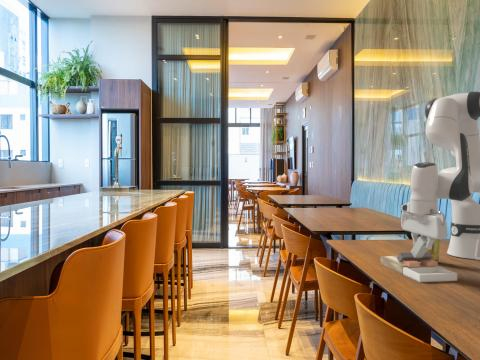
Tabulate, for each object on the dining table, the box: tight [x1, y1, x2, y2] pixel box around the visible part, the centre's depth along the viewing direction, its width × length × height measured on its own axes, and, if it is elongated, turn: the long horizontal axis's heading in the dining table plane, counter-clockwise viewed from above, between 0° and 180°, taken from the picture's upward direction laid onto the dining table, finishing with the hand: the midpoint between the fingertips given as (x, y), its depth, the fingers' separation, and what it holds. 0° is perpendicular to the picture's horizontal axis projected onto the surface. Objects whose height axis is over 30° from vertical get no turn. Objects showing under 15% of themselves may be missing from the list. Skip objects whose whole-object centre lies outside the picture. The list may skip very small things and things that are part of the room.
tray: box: [402, 265, 458, 283], centre depth 124 cm, size 14×9×2 cm, turn 99°
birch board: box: [380, 255, 430, 275], centre depth 136 cm, size 14×14×3 cm
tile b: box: [402, 260, 420, 267], centre depth 128 cm, size 4×4×2 cm
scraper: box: [397, 235, 433, 263], centre depth 129 cm, size 12×3×11 cm
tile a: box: [420, 259, 439, 266], centre depth 129 cm, size 4×4×2 cm
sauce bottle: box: [422, 235, 441, 263], centre depth 145 cm, size 6×6×20 cm
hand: (422, 247), depth 127 cm, fingers closed on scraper, 5 cm apart
